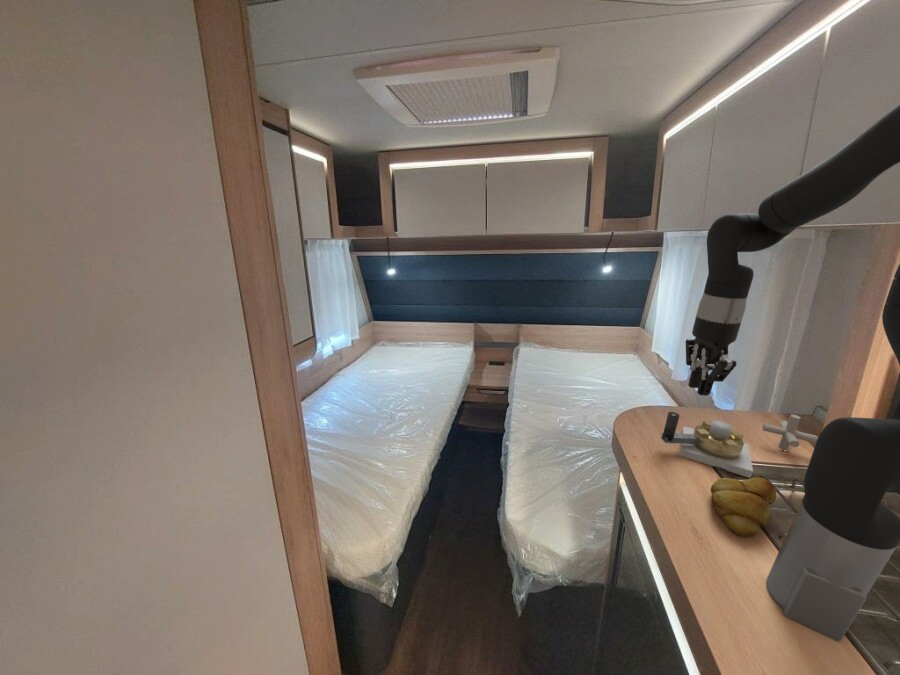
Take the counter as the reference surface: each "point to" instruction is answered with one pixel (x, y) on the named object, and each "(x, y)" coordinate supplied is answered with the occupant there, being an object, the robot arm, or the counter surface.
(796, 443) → the pipe connector
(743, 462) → the flange plate
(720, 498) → the bread roll
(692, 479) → the counter surface
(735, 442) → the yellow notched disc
